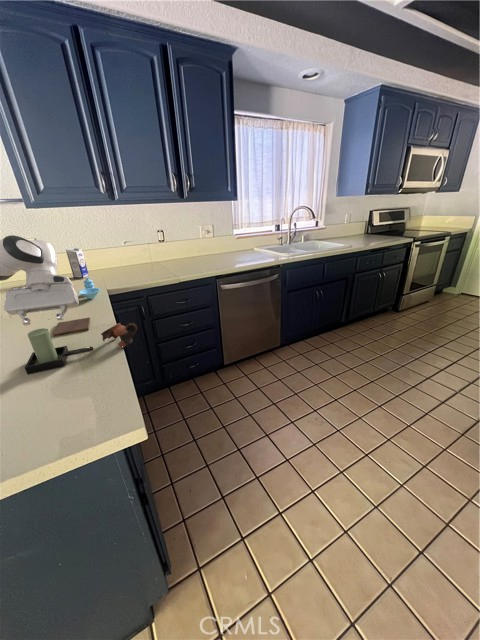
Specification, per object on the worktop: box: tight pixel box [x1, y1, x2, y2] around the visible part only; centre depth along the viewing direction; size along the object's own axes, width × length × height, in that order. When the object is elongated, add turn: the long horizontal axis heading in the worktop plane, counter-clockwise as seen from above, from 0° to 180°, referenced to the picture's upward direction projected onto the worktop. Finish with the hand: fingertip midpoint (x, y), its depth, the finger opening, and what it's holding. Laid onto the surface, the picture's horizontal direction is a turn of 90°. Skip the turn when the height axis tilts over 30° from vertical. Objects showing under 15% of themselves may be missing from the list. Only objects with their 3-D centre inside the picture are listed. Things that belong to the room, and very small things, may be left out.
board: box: [52, 317, 91, 337], centre depth 109 cm, size 12×12×1 cm
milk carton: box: [65, 247, 90, 279], centre depth 180 cm, size 7×7×20 cm
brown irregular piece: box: [100, 322, 138, 349], centre depth 96 cm, size 12×10×8 cm
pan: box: [24, 345, 95, 375], centre depth 86 cm, size 18×10×3 cm, turn 114°
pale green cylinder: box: [27, 327, 59, 364], centre depth 83 cm, size 5×5×11 cm
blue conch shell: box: [77, 277, 101, 300], centre depth 143 cm, size 18×10×9 cm, turn 28°
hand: (43, 321), depth 85 cm, fingers open, 8 cm apart
